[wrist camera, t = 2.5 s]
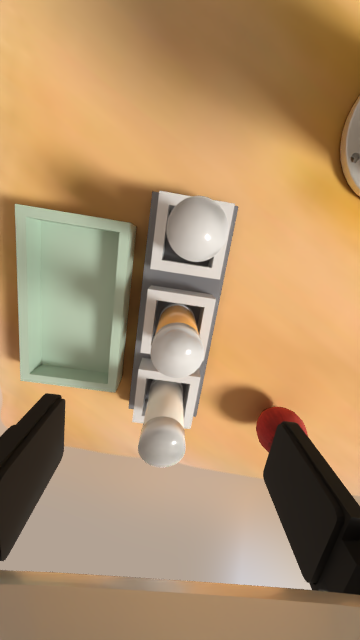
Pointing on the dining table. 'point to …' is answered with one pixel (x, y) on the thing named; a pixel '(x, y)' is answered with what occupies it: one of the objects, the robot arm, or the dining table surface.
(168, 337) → the marked fuse
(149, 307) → the fuse holder
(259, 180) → the dining table surface
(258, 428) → the onion
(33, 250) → the tray
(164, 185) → the dining table surface
